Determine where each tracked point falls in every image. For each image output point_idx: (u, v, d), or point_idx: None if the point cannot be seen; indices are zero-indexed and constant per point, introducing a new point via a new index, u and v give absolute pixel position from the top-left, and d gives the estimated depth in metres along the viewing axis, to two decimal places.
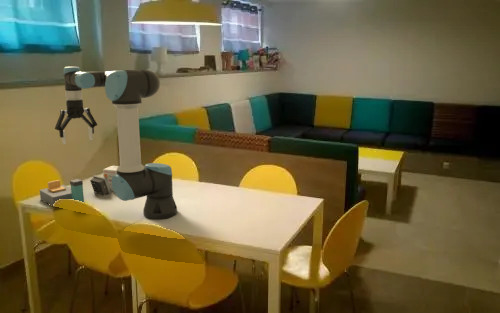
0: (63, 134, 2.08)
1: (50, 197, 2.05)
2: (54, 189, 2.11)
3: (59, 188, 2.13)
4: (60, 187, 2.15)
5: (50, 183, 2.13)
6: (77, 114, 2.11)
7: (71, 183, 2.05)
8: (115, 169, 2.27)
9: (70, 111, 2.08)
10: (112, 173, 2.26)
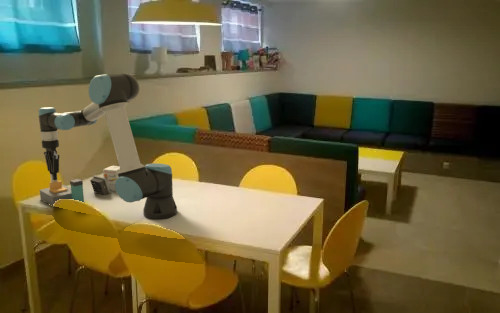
0: None
1: (50, 197, 2.05)
2: (55, 190, 2.10)
3: (61, 189, 2.12)
4: (61, 188, 2.13)
5: (51, 184, 2.12)
6: None
7: (71, 183, 2.05)
8: (115, 169, 2.27)
9: (46, 149, 2.12)
10: (112, 173, 2.26)
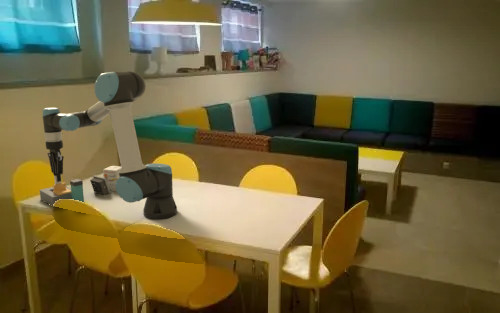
0: None
1: (50, 197, 2.05)
2: (60, 192, 2.07)
3: (65, 191, 2.09)
4: (66, 190, 2.10)
5: (55, 186, 2.09)
6: None
7: (71, 183, 2.05)
8: (115, 169, 2.27)
9: (50, 150, 2.09)
10: (112, 173, 2.26)
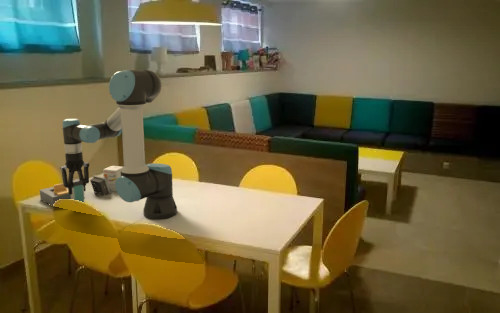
0: (72, 191, 2.04)
1: (50, 197, 2.05)
2: (60, 192, 2.07)
3: (65, 191, 2.08)
4: (66, 190, 2.10)
5: (56, 186, 2.08)
6: (76, 167, 2.04)
7: None
8: (115, 169, 2.27)
9: (69, 164, 2.01)
10: (112, 173, 2.26)
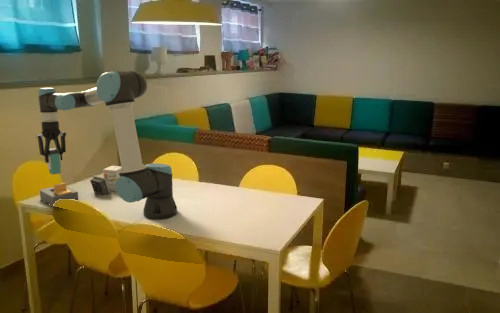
0: (48, 159, 2.07)
1: (50, 197, 2.05)
2: (60, 192, 2.07)
3: (65, 191, 2.08)
4: (66, 190, 2.10)
5: (56, 186, 2.08)
6: (53, 136, 2.07)
7: None
8: (115, 169, 2.27)
9: (45, 133, 2.04)
10: (112, 173, 2.26)
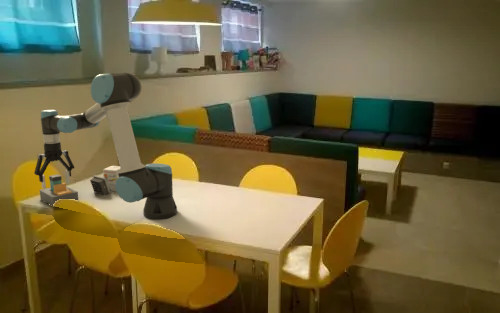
0: (43, 179, 2.07)
1: (50, 197, 2.05)
2: (60, 192, 2.07)
3: (65, 191, 2.08)
4: (66, 190, 2.10)
5: (56, 186, 2.08)
6: (55, 157, 2.09)
7: (50, 178, 2.11)
8: (115, 169, 2.27)
9: (48, 154, 2.07)
10: (112, 173, 2.26)
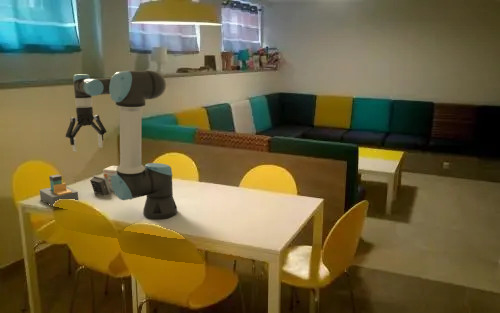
0: (74, 142, 2.07)
1: (50, 197, 2.05)
2: (60, 192, 2.07)
3: (65, 191, 2.08)
4: (66, 190, 2.10)
5: (56, 186, 2.08)
6: (87, 121, 2.11)
7: (50, 178, 2.11)
8: (115, 169, 2.27)
9: (80, 118, 2.08)
10: (112, 173, 2.26)
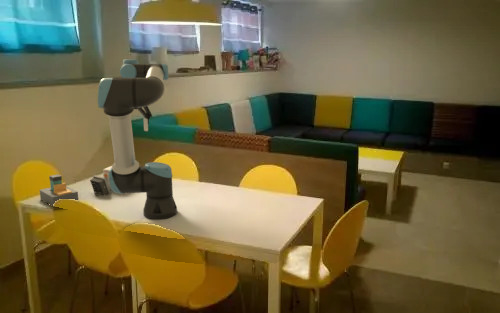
0: None
1: (50, 197, 2.05)
2: (60, 192, 2.07)
3: (65, 191, 2.08)
4: (66, 190, 2.10)
5: (56, 186, 2.08)
6: None
7: (50, 178, 2.11)
8: None
9: None
10: None
